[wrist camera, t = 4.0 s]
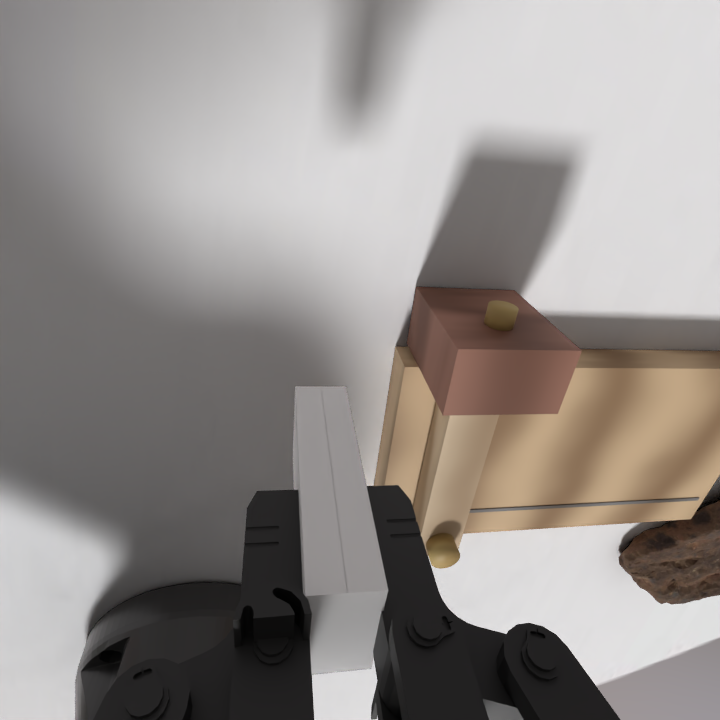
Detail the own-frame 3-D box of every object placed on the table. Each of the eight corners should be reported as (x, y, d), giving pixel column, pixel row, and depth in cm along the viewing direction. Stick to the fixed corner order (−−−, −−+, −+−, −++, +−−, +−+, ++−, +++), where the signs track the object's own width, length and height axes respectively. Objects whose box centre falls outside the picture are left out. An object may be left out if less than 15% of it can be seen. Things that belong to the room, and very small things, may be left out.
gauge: (379, 503, 29) (401, 592, 24) (418, 270, 22) (462, 329, 17) (455, 499, 30) (492, 584, 25) (518, 274, 23) (589, 332, 18)
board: (369, 512, 30) (375, 539, 28) (395, 346, 24) (405, 367, 22) (670, 497, 34) (691, 519, 32) (756, 351, 28) (788, 369, 26)
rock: (770, 462, 34) (820, 500, 31) (725, 553, 40) (763, 593, 37) (627, 490, 33) (664, 533, 30) (601, 580, 39) (629, 623, 36)
